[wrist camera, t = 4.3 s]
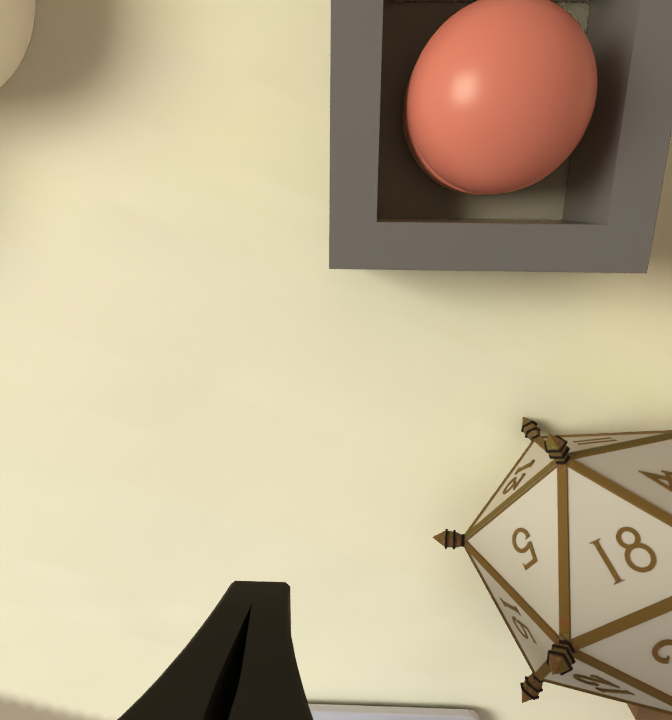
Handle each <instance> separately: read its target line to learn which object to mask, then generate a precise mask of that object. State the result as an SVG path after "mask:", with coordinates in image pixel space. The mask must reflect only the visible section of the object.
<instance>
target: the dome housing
mask: <svg viewBox="0 0 672 720" xmlns="http://www.w3.org/2000/svg"><path fill="white" fill-rule="evenodd" d="M475 1H478V0H331V75H330V232H329V269H382V270H455V271H527V272H600V273H647V269H648V263H649V257H650V252H651V246H652V240H653V234H654V228H655V223H656V217H657V211H658V205H659V200H660V194H661V188H662V182H663V177H664V171H665V165H666V159H667V154H668V148H669V142H670V136H671V131H672V0H550V1H552V2H590V7H589V15H588V23H587V31H586V36H587V38H588V40H589V42H590V44H591V47H592V50H593V53H594V56H595V61H596V67H597V82H598V83H597V96H596V101H595V106H594V110H593V113H592V116H591V119H590V122H589V124H588V126H587V128H586V131H585V133H584V135H583V137H582V138H581V140H580V142H579V143H578V145H577V146H576V148H575V149H574V150H573V152H572V153H571V158H570V166H569V174H568V182H567V190H566V198H565V206H564V214H563V220H511V219H423V218H377V192H378V159H379V126H380V94H381V61H382V28H383V2H475Z"/></svg>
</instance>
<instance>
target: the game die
mask: <svg viewBox="0 0 672 720" xmlns="http://www.w3.org/2000/svg"><path fill="white" fill-rule="evenodd" d="M536 425H537V423H535V422H534V421H529V420H527V419H525V418H524V417H523V426H522V429H521V432H524V433H525V437H526V438H529V439H530V440H531V441H532V442H531V443H530V445H529V446H528V448H527V449H526V450H525V452H524V453H523V454H522V456H521V457H520V459H519V460H518V461H517V463H516V464H515V465H514V467H513V468H512V470H511V471H510V472H509V474H508V475H507V476H506V478H505V479H504V481H503V482H502V483H501V485H500V486H499V487H498V489H497V490H496V492H495V493H494V494H493V496H492V497H491V499H490V500H489V501H488V503H487V504H486V505H485V507H484V508H483V510H482V511H481V512H480V514H479V515H478V516H477V518H476V519H475V521H474V522H473V523H472V525H471V526H470V527H469V529H468V530H467V532H466V533H465V534H463V535H461V534H459V533H456V530H454V532H452V531H447V530H448V529H446V531H444V532H442V533H440V534H438V535H436V536H434V537H433V538H434V539H435V540H437V541H438V542H439V543H441V544H442V545H443V546H444V547H445V549H447V547H453V549H455V547H460V546H462V547H464V548H465V550H466V551H467V553H468V555H469V557H470V559H471V561H472V562H473V564H474V566H475V568H476V570H477V572H478V573H479V575H480V577H481V579H482V581H483V583H484V584H485V586H486V588H487V590H488V592H489V593H490V595H491V597H492V599H493V601H494V603H495V604H496V606H497V608H498V610H499V612H500V614H501V615H502V617H503V619H504V621H505V623H506V625H507V626H508V628H509V630H510V632H511V634H512V636H513V637H514V639H515V641H516V643H517V645H518V647H519V648H520V650H521V652H522V654H523V656H524V658H525V659H526V661H527V663H528V665H529V667H530V669H531V670H532V672H533V673H532V674H531V675H530V676H529V677H527V676H526V677H525V681H524V683H522V682H521V683H520V684H521V689H522V703H523V702H526V701H528V700H531V699H533V700H535V699H538V698H539V696H538V694H539V692H542V691H543V689H542V683H543V682H548V683H552V684H555V685H559V686H563V687H567V688H571V689H575V690H578V691H582V692H586V693H590V694H594V695H597V696H601V697H605V698H609V699H613V700H616V701H620V702H624V703H628V704H632V705H636V706H639V707H643V708H647V709H651V710H655V711H658V712H662V713H666V714H670V715H672V430H667V431H645V432H623V433H600V434H578V435H556V436H554V435H552V434H550V433H549V435H548V436H540V432H539V431H541V430H540V429H539V428H537V426H536Z"/></svg>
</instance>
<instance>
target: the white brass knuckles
mask: <svg viewBox="0 0 672 720" xmlns="http://www.w3.org/2000/svg"><path fill="white" fill-rule="evenodd" d="M34 18H35V0H0V87H1V86H2V85H3V84H5V83H6V82H7V80H8V79H9V78H10V77H11V76H12V75H13V73H14V72H15V71H16V69H17V68H18V66H19V65H20V63H21V61H22V59H23V57H24V55H25V53H26V50H27V48H28V45H29V42H30V39H31V35H32V31H33V26H34Z"/></svg>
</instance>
